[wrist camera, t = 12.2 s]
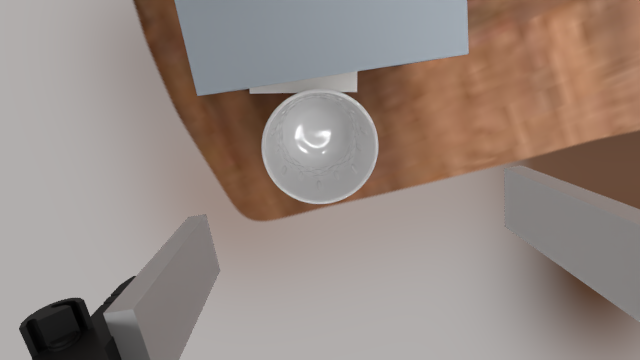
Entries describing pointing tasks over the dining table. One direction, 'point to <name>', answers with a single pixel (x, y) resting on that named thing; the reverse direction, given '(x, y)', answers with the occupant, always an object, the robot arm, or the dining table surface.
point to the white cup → (319, 146)
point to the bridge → (313, 38)
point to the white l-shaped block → (313, 84)
